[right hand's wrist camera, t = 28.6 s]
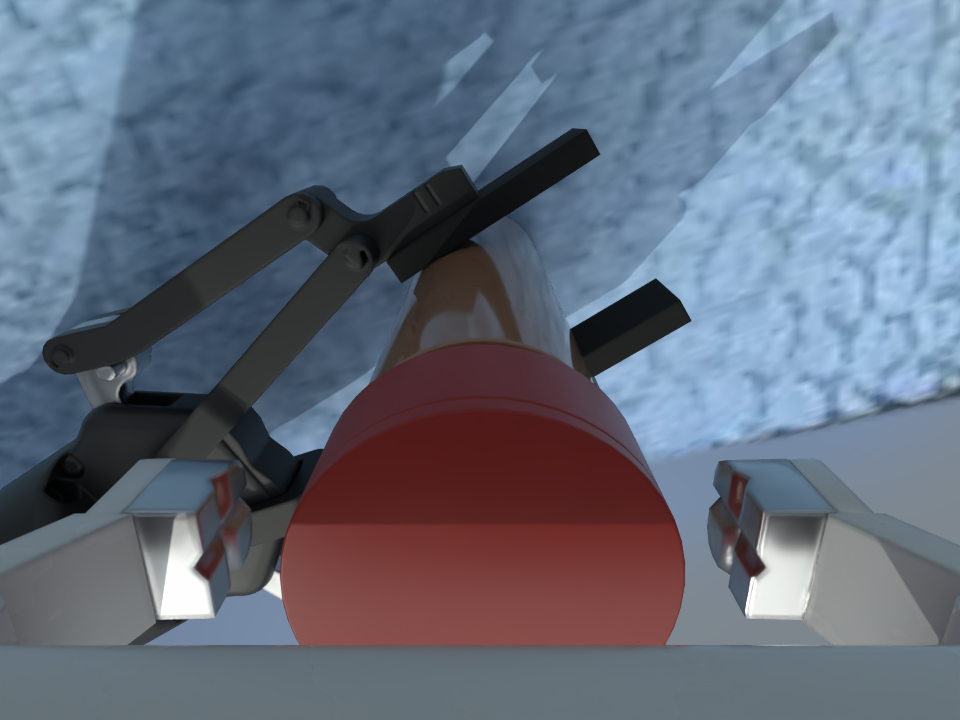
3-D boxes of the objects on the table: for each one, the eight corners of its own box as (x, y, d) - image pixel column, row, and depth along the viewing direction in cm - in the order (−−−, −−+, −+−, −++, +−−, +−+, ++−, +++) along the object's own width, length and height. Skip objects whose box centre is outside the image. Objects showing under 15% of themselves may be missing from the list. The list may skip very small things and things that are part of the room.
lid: (600, 300, 9) (638, 355, 7) (671, 580, 11) (718, 692, 9) (269, 398, 10) (208, 477, 8) (386, 649, 12) (365, 772, 9)
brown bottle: (561, 249, 26) (713, 490, 9) (499, 344, 27) (532, 704, 10) (459, 187, 25) (418, 324, 8) (401, 288, 26) (264, 584, 10)
